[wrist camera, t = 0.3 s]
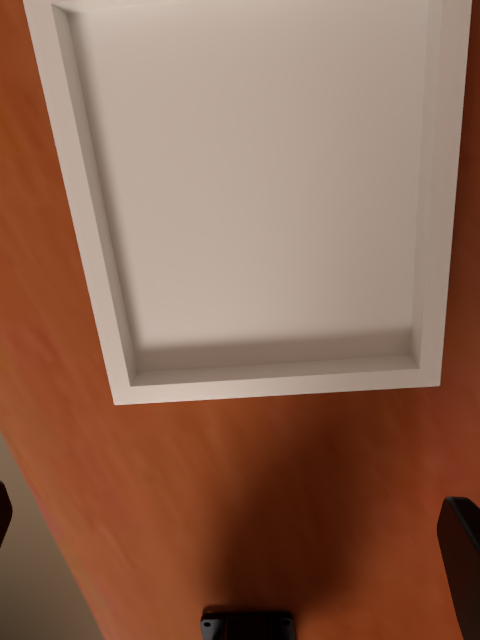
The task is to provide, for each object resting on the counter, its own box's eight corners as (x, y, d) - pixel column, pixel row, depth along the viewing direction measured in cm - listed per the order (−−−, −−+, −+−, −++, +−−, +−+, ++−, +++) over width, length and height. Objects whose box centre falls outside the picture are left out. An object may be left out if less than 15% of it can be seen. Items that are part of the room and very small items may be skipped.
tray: (422, 362, 24) (439, 386, 21) (127, 380, 25) (114, 405, 23) (449, -56, 17) (479, -87, 15) (47, -6, 18) (16, -27, 16)
